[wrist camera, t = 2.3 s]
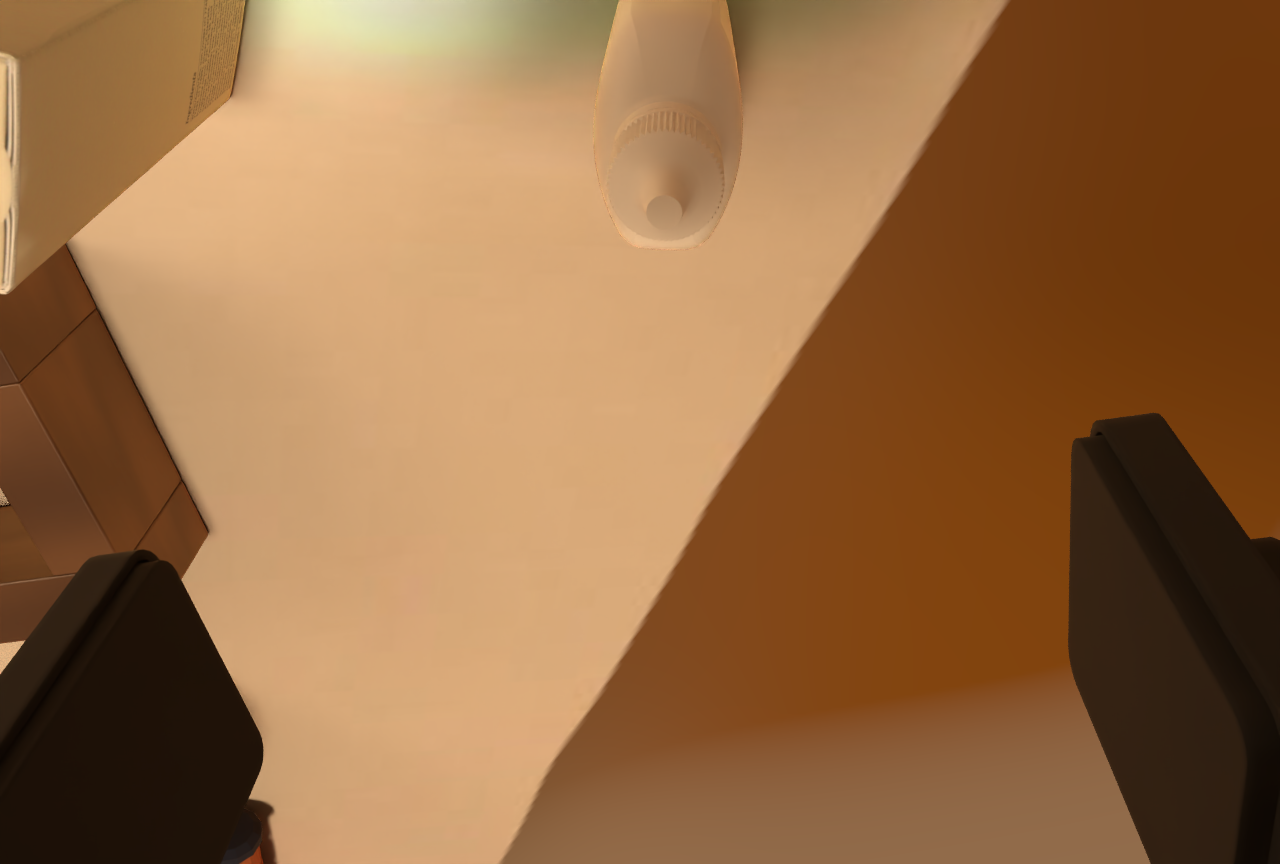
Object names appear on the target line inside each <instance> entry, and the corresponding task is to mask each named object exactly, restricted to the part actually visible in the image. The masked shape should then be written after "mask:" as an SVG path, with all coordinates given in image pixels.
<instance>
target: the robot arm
mask: <svg viewBox="0 0 1280 864" xmlns="http://www.w3.org/2000/svg"><path fill="white" fill-rule="evenodd" d="M1071 459H1072V460H1071V514H1070V573H1069V633H1068V635H1069V636H1068V647H1069V658H1070V663H1071V668H1072V672H1073V676H1074V679H1075V682H1076V685H1077V687H1078V689H1079V692H1080V695H1081V697H1082V699H1083V702H1084V704H1085V707H1086V709H1087V711H1088V714H1089V716H1090V718H1091V721H1092V723H1093V726H1094V728H1095V731H1096V733H1097V735H1098V738H1099V740H1100V742H1101V745H1102V747H1103V750H1104V752H1105V755H1106V757H1107V759H1108V762H1109V764H1110V766H1111V769H1112V771H1113V774H1114V776H1115V779H1116V781H1117V783H1118V786H1119V788H1120V791H1121V793H1122V795H1123V798H1124V800H1125V803H1126V805H1127V807H1128V810H1129V812H1130V815H1131V817H1132V819H1133V822H1134V824H1135V826H1136V829H1137V831H1138V834H1139V836H1140V839H1141V841H1142V844H1143V846H1144V848H1145V850H1146V853H1147V855H1148V858H1149V860H1150V863H1151V864H1280V540H1278V539H1275V538H1272V537H1267V538H1258V539H1250V538H1249V537H1248V536H1247V534H1246V533H1245V531H1244V530H1243V529H1242V527H1241V526H1240V525H1239V523H1238V522H1237V521H1236V519H1235V517H1234V516H1233V515H1232V513H1231V512H1230V510H1229V509H1228V508H1227V506H1226V505H1225V503H1224V502H1223V501H1222V499H1221V498H1220V496H1219V495H1218V494H1217V492H1216V491H1215V489H1214V488H1213V487H1212V485H1211V484H1210V482H1209V481H1208V480H1207V478H1206V477H1205V475H1204V474H1203V473H1202V471H1201V470H1200V468H1199V467H1198V466H1197V465H1196V463H1195V462H1194V460H1193V459H1192V457H1191V456H1190V454H1189V453H1188V452H1187V450H1186V449H1185V447H1184V446H1183V445H1182V443H1181V442H1180V441H1179V439H1178V438H1177V436H1176V435H1175V433H1174V432H1173V431H1172V429H1171V428H1170V426H1169V425H1168V424H1167V422H1166V421H1165V419H1164V418H1163V417H1162V416H1161V415H1160V414H1157V413H1150V414H1142V415H1135V416H1127V417H1120V418H1113V419H1105V420H1098V421H1095V422H1094V423H1093V426H1092V429H1091V434H1090V437H1084V438H1076V439H1075V440H1074V441H1073V445H1072V454H1071ZM262 762H263V742H262V738H261V735H260V732H259V730H258V728H257V726H256V725H255V723H254V721H253V719H252V717H251V715H250V713H249V711H248V709H247V707H246V705H245V703H244V701H243V699H242V697H241V695H240V693H239V691H238V690H237V688H236V686H235V684H234V682H233V680H232V678H231V676H230V674H229V672H228V670H227V668H226V666H225V664H224V662H223V660H222V658H221V656H220V655H219V653H218V651H217V649H216V647H215V645H214V643H213V641H212V639H211V637H210V635H209V633H208V631H207V629H206V627H205V625H204V623H203V621H202V620H201V618H200V616H199V614H198V612H197V610H196V608H195V606H194V604H193V602H192V600H191V598H190V596H189V594H188V592H187V590H186V588H185V586H184V585H183V583H182V581H181V579H180V577H179V575H178V573H177V571H176V569H175V568H174V567H173V565H172V564H170V563H169V562H168V561H164V560H159V558H158V557H157V556H156V555H155V554H154V553H152V552H151V551H149V550H144V549H141V550H133V551H126V552H119V553H111V554H104V555H97V556H94V557H91V558H89V559H88V560H87V561H86V562H85V563H84V564H83V565H82V566H81V568H80V569H79V570H78V572H77V573H76V574H75V576H74V577H73V578H72V580H71V581H70V582H69V584H68V585H67V586H66V588H65V589H64V590H63V592H62V593H61V594H60V596H59V597H58V598H57V600H56V601H55V602H54V604H53V605H52V606H51V608H50V609H49V610H48V612H47V613H46V614H45V616H44V617H43V618H42V620H41V621H40V622H39V624H38V625H37V626H36V628H35V629H34V630H33V632H32V633H31V634H30V636H29V637H28V638H27V640H26V641H25V642H24V644H23V645H22V646H21V648H20V649H19V650H18V652H17V653H16V654H15V656H14V657H13V658H12V660H11V661H10V662H9V664H8V665H7V666H6V668H5V669H4V670H3V672H2V673H1V674H0V864H221V862H222V860H223V857H224V855H225V853H226V850H227V848H228V846H229V843H230V841H231V838H232V836H233V834H234V831H235V829H236V827H237V824H238V822H239V820H240V817H241V815H242V812H243V810H244V808H245V805H246V803H247V801H248V798H249V796H250V794H251V791H252V789H253V786H254V784H255V782H256V779H257V777H258V775H259V772H260V770H261V766H262Z"/></svg>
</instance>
